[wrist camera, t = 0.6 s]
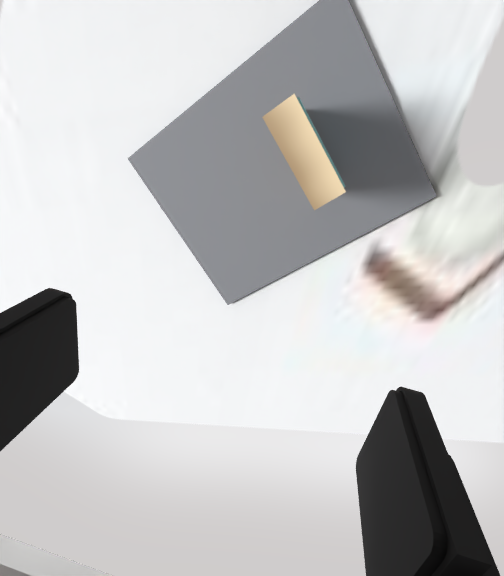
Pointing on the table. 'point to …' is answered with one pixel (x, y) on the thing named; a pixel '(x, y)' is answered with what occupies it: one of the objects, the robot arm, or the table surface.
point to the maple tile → (304, 151)
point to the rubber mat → (272, 164)
